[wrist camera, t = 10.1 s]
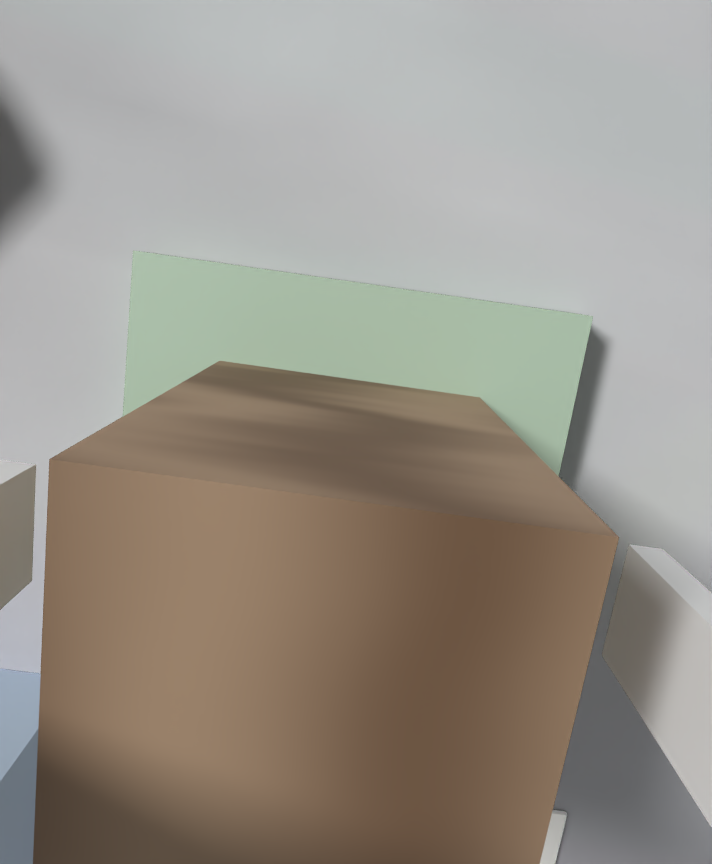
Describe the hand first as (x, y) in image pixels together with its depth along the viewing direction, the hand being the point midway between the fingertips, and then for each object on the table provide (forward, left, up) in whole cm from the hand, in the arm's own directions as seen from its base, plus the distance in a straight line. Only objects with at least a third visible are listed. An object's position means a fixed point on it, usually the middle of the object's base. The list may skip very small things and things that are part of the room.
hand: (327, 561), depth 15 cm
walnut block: (0, 0, -4) cm, 4 cm away
